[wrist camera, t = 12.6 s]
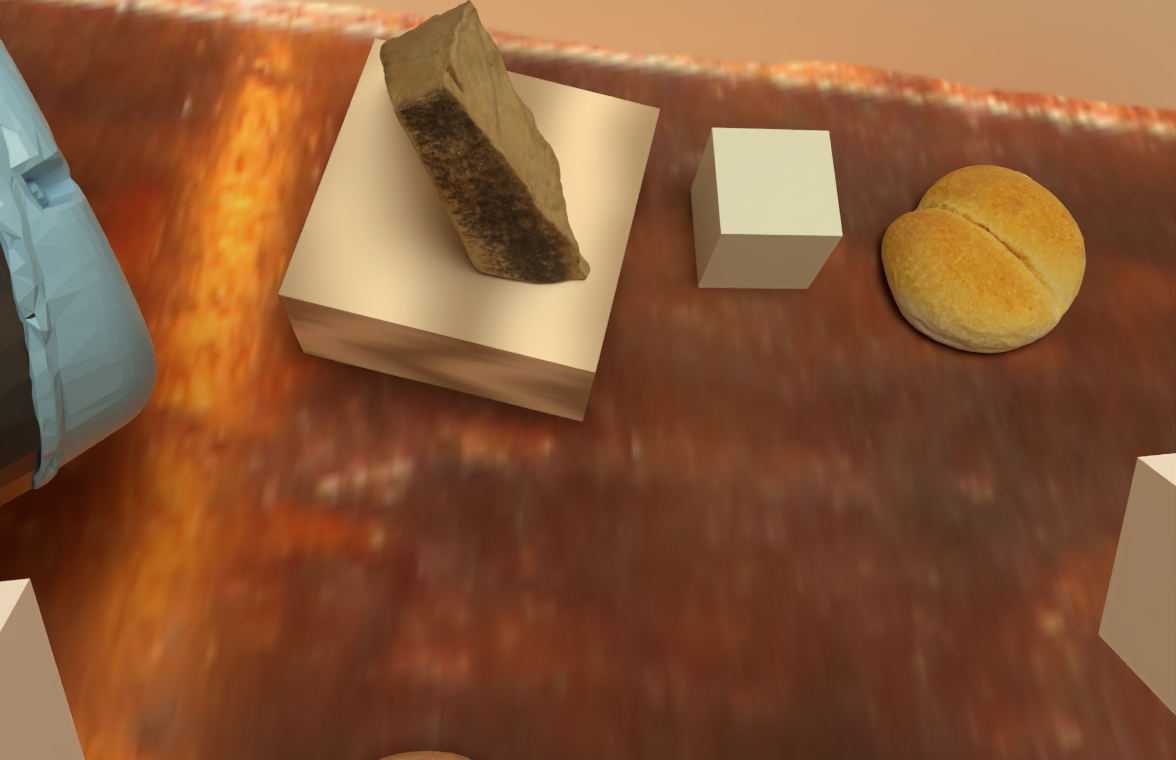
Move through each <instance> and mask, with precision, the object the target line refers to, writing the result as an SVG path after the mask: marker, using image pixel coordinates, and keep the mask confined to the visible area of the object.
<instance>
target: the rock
mask: <svg viewBox="0 0 1176 760" xmlns="http://www.w3.org/2000/svg"><path fill="white" fill-rule="evenodd" d="M380 48H381V50H380V60H381V63H382V65H383V68H384V69H383V72H384V74H385V77H384V79H385V83H386V86H387V93H388V95H389V98H390V100H391V102H392V104H393V109H394V111H395V114H396V117H397V119H398V121H399V123H400V124H401V126H402V127H403V129H404V131H405V132H406V134H407V136H408V137H409V139H410V141H411V143H412V146H413V147H414V149H415V151H416V152H417V153H418V156H419V158H420V161H421V163H422V164H423V166H424V167H425V169H426V170H427V172H428V174H429V175H430V177H431V179H432V182H433V184H434V186H435V187H436V189H437V193H438V196H439V198H440V200H441V201H442V202H443V203H444V205H445V208H446V210H447V212H448V215H449V217H450V219H451V221H452V223H453V224H454V226H455V228H456V230H457V231H458V232H459V234H460V238H461V241H462V243H463V245H464V247H465V249H466V251H467V253H468V256H469V258H470V259H471V261H472V263H473V265H474V267H475V268H476V269H478V270H479V271H481V272H483V273H489V274H493V275H496V276H500V277H506V278H510V279H518V280H524V281H528V282H533V283H554V282H561V281H566V280H570V279H585V278H587V276H588V274H589V273H590V265H589V264H588V262H587V261H586V260H585V259H584V258H583V257H582V255H581V253H580V251H579V245H578V242H577V241H576V239H575V237H574V234H573V232H572V229H571V227H570V225H569V222H568V216H567V212H566V201H565V198H564V196H563V188H562V184H561V181H560V177H561V175H560V166H559V162H558V159H557V157H556V155H555V153H554V151H553V149H552V147H551V145H550V144H549V143H548V142H547V141H546V140H545V139H544V137H543V136H542V135H541V133H540V132H539V130H538V129H537V126H536V124H535V119H534V115H533V113H532V112H531V110H530V108H529V107H527V106H526V105H525V104H524V103H523V102H522V100H521V98H520V97H519V96H518V95H517V94H516V92H515V90H514V88H513V85H512V83H511V81H510V78H509V76H508V74H507V71H506V68H505V65H504V61H503V58H502V56H501V53H500V51H499V50H498V48H497V46H496V45H495V43H494V42H493V40H492V38H491V37H490V35H489V34H488V32H487V31H486V29H485V28H484V27H483V25H482V24H481V22H480V20H479V17H478V13H477V10H476V8H475V7H474V6H473V4H472V3H471V1H467V2H466V3H464V4H461V5H459V6H458V7H456V8H454V9H452V10H449V11H447V12H445V13H443V14H442V15H440V16H439V15H435V16H432V17H431V18H429V19H428V20H427V21H425V22H424V23H422V24H421V25H419V26H418V27H416V28H415V29H413V30H410V31H408V32H406V33H405V34H403V35H401V36H400V37H396V38H392V39H390V40H388V41H386V42H384V43H383V44H382V46H381V47H380Z"/></svg>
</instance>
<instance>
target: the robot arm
mask: <svg viewBox="0 0 1176 760" xmlns="http://www.w3.org/2000/svg"><path fill="white" fill-rule="evenodd" d="M156 378H157V359H156V353H155V348H154V345H153V342H152V339H151V336H150V333H149V331H148V328H147V325H146V323H145V320H144V318H143V316H142V313H141V311H140V309H139V306H138V304H137V302H136V299H135V297H134V295H133V293H132V290H131V288H130V286H129V284H128V282H127V279H126V277H125V275H124V273H123V271H122V269H121V267H120V265H119V262H118V260H117V258H116V256H115V254H114V252H113V250H112V248H111V246H110V244H109V242H108V240H107V238H106V236H105V234H104V232H103V230H102V228H101V226H100V224H99V222H98V220H97V218H96V216H95V214H94V212H93V211H92V209H91V207H90V205H89V203H88V201H87V199H86V197H85V196H84V194H83V192H82V191H81V189H80V188H79V186H78V185H77V184H76V183H75V182H74V181H73V180H72V178H71V176H70V168H69V166H68V164H67V162H66V160H65V158H64V157H63V155H62V153H61V151H60V149H59V147H58V146H57V144H56V142H55V140H54V137H53V135H52V132H51V130H50V127H49V125H48V123H47V121H46V119H45V117H44V116H43V114H42V112H41V110H40V108H39V106H38V104H37V103H36V101H35V99H34V97H33V95H32V93H31V92H30V90H29V88H28V86H27V84H26V83H25V81H24V79H23V77H22V75H21V74H20V72H19V70H18V68H17V67H16V65H15V63H14V61H13V60H12V58H11V56H10V54H9V53H8V51H7V49H6V48H5V46H4V44H3V43H2V41H1V39H0V506H1V505H3V504H5V503H7V502H9V501H10V500H12V499H14V498H16V497H18V496H19V495H21V494H23V493H25V492H27V491H28V490H30V489H38V488H40V487H41V486H43V485H45V484H47V483H48V482H49V481H50V480H52V479H53V478H54V476H55V475H56V473H57V472H58V469H59V468H60V467H61V466H63V465H64V464H66V463H67V462H69V461H71V460H72V459H74V458H75V457H77V456H78V455H80V454H81V453H83V452H84V451H86V450H87V449H89V448H91V447H92V446H94V445H95V444H97V443H98V442H100V441H101V440H103V439H104V438H106V437H107V436H109V435H111V434H112V433H114V432H115V431H117V430H118V429H120V428H121V427H123V426H124V425H126V424H127V423H129V422H130V421H131V420H132V419H134V418H135V417H136V416H137V415H138V414H139V413H140V412H141V411H142V410H143V409H144V407H145V406H146V404H147V403H148V401H149V399H150V398H151V395H152V393H153V391H154V387H155V384H156ZM1098 635H1099V636H1100V637H1101V638H1102V639H1103V640H1104V641H1105V642H1106V643H1107V644H1108V645H1109V646H1110V647H1111V648H1112V649H1113V650H1114V651H1115V652H1116V653H1117V654H1118V656H1119V657H1120V658H1121V659H1122V660H1123V661H1124V662H1125V663H1126V664H1127V665H1128V666H1129V667H1130V668H1131V669H1132V670H1133V671H1134V672H1135V673H1136V674H1137V675H1138V677H1139V678H1140V679H1141V680H1142V681H1143V682H1144V683H1145V684H1146V685H1147V686H1148V687H1149V688H1150V689H1151V690H1152V691H1153V692H1154V693H1155V694H1156V695H1157V696H1158V698H1159V699H1160V700H1161V701H1162V702H1163V703H1164V704H1165V705H1166V706H1167V707H1168V708H1169V709H1170V710H1171V711H1172V712H1173V713H1174V714H1175V715H1176V453H1173V454H1164V455H1155V456H1146V457H1138V459H1137V463H1136V468H1135V472H1134V477H1133V481H1132V486H1131V490H1130V495H1129V499H1128V504H1127V508H1126V513H1125V517H1124V522H1123V526H1122V531H1121V535H1120V540H1119V544H1118V549H1117V553H1116V558H1115V562H1114V567H1113V571H1112V576H1111V580H1110V585H1109V589H1108V594H1107V598H1106V603H1105V607H1104V612H1103V616H1102V621H1101V625H1100V630H1099V634H1098ZM0 760H85V758H84V755H83V752H82V749H81V745H80V742H79V739H78V735H77V732H76V729H75V726H74V722H73V719H72V716H71V712H70V709H69V706H68V702H67V699H66V696H65V693H64V689H63V686H62V683H61V679H60V676H59V673H58V669H57V666H56V663H55V660H54V656H53V653H52V650H51V646H50V643H49V640H48V637H47V633H46V630H45V627H44V623H43V620H42V617H41V613H40V610H39V607H38V604H37V600H36V597H35V594H34V590H33V587H32V584H31V580H30V579H21V580H12V581H2V582H0Z"/></svg>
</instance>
